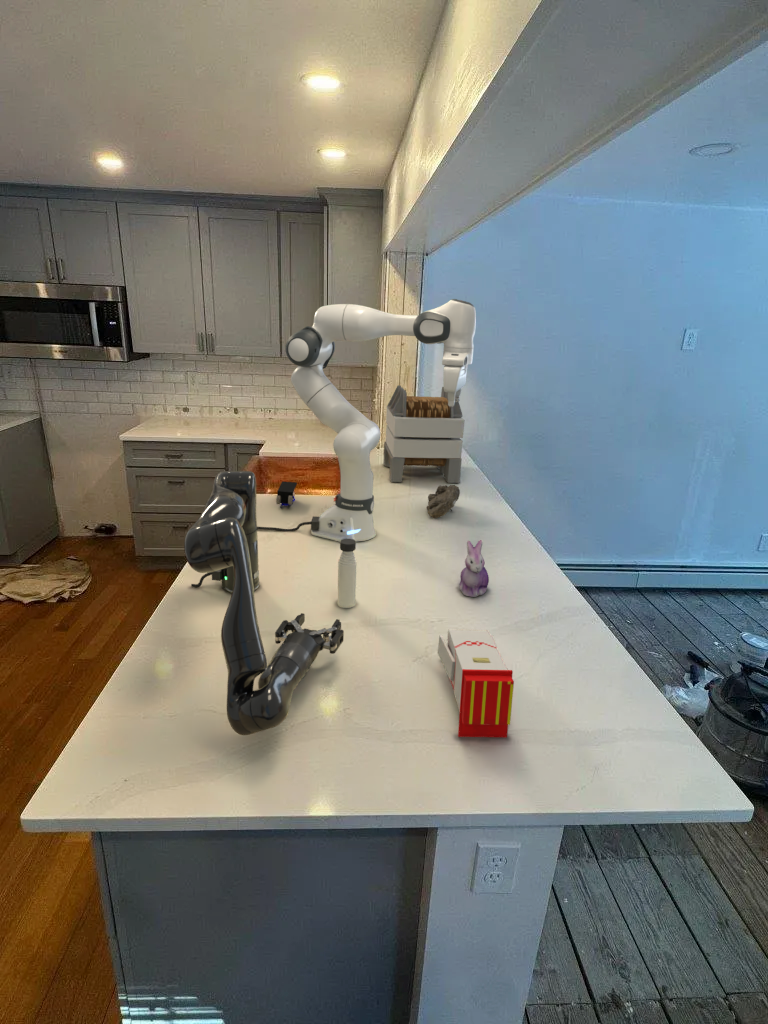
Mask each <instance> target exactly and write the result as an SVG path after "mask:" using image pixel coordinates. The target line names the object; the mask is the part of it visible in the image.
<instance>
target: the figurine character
mask: <svg viewBox="0 0 768 1024" xmlns="http://www.w3.org/2000/svg"><path fill="white" fill-rule="evenodd" d="M297 484H298V482H296V481H295V482H294V481H284V480H283V481H281V483H280V485H279V487H278V489H277V494H276V498H275V499H276V500H275V503H276V505H279V508H280V509H283V506H285V507H287V509H290V508H291V506H292V505H293V503H294V502H295V501H296V497H295V496H296V492H295V489H296V488H297Z"/></svg>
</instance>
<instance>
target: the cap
mask: <svg viewBox="0 0 768 1024" xmlns="http://www.w3.org/2000/svg"><path fill="white" fill-rule="evenodd" d="M356 544H357V542H356V541H355V540H353V539H342V540H341V541H340V542H339V550H340V551H341V552H342V551H345V552H351V551H353V552H355V550H356V547H357V545H356Z"/></svg>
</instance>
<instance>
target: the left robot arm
mask: <svg viewBox="0 0 768 1024" xmlns="http://www.w3.org/2000/svg"><path fill="white" fill-rule="evenodd" d="M257 489H258V483H257V477H256V475H255V473H254V472H253V471H251V470H224V471H220V472H218V473H217V474H216V475H215V477H214V480H213V483H212V488H211V493H210V495H209V496H208V498H207V500H206V502H205V504H204V505H203V509H202V512H201V513H200V515H199V517H198V519H197V520H196V521H195V522H194V523H193V524H192V525H191V526H190V528H189V529H188V530H187V532H186V534H185V536H184V537H185V538H184V542H183V543H184V546H183V547H184V548H183V549H184V555H185V559H186V561H187V563H188V566H190V568H191V569H192V570H193V571H195V572H197V573H199V574H203V575H202V576H201V577H200V579H199V582H198V583H191V585H190V587H191V588H200V587H201V586H202V584H203V582H204V580H205V579H206V578H207V577H209V576H211V580H212V581H218V582H221V589H222V590H225V592H227V593H230V594H231V595H230V599H229V601H228V605H227V608H226V611H225V614H224V617H223V620H222V623H221V628H220V629H221V630H220V642H221V648H222V652H223V656H224V660H225V665H226V669H227V681H226V682H227V684H226V685H227V686H226V717H227V721H228V723H229V726H230V727H231V729H232V730H233V731H234V732H235V733H236V734H238V735H240V736H250V735H253V734H256V733H260V732H263V731H267V730H270V729H273V728H275V727H278V726H279V725H280V724H282V723H283V722H284V721H285V719H286V718H287V717H288V715H289V712H290V707H291V703H292V699H293V694H294V693H293V692H294V691H295V690H296V688H297V686H298V685H299V683H300V682H301V681H302V680H303V678H304V677H305V676H306V675H307V674H308V671H310V670H311V666H312V665H313V664H314V662H315V660H316V659H317V657H318V655H319V652H321V651H322V650H329V654H330V655H334V654H336V653H337V651H338V650H339V648H340V647H341V645H342V644H343V642H344V634H345V633H344V630H343V629H342V622H341V620H340V619H338V618H337V619H335V621H334V622H333V624H332V625H331V627H329V628H325V627H324V628H320V629H319V630H316V629H309V628H302V626H303V624H304V623H305V621H306V619H305V618H306V617H305V616H306V615H305V613H299V614H298V615H296V617H295V618H294V619H293V620H291V621H289V620H287V619H284V620H282V621H281V623H280V625H279V626H278V628H277V629H276V630H275V632H274V643H275V644H276V645H279V644H280V646H279V647H277V650H276V651H275V652H274V654H273V655H272V657H271V659H270V661H269V662H268V661H267V657H266V654H265V653H266V652H265V647H264V644H263V643H264V642H263V641H262V640H263V639H262V634H261V632H260V626H259V622H258V621H259V620H258V617H257V615H258V614H257V607H256V598H255V591H257V590H258V589H259V588H260V570H259V569H260V567H259V543H258V540H259V539H258V529H257V527H258V520H257V518H258V517H257V495H258V494H257V492H258V490H257ZM289 631H291V632H290V633H288V632H289ZM258 676H259V677H258ZM257 677H258V680H257V688H258V689H255V690H254V684H255V679H256V678H257Z"/></svg>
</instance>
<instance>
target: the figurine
mask: <svg viewBox="0 0 768 1024" xmlns="http://www.w3.org/2000/svg"><path fill="white" fill-rule="evenodd" d="M482 548H483V540H482V539H479V540H478V541H477V543H476V544H475V546H474V544H473V543H472V542H471V541H470V540H467V542H466V550H467V555H466V557H465V559H464V565H465V566H464V568H463V569H462V570H461V572H460V581H459V590H460V591H461V593H462V595H463V596H466V597H472V598H473V597H474V598H477V597H478V596H483V595H484V594H485V593H486V592H487V590H488V586H489V583H490V577H489V573H488V571H487V568H486V567H485V565H486V561H485V558H484V556H483V553H482Z"/></svg>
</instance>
